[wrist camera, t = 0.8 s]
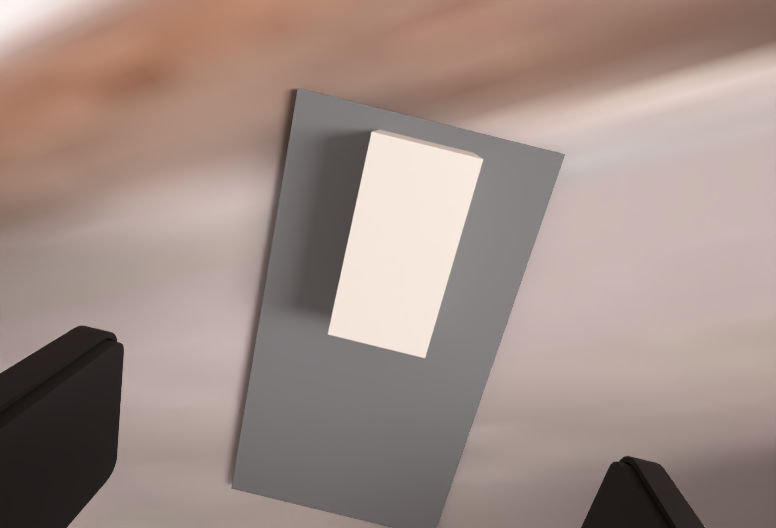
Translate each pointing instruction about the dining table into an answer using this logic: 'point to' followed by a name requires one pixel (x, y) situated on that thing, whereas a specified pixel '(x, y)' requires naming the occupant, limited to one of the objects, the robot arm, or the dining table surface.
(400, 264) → the white rectangular block
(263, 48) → the dining table surface
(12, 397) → the robot arm
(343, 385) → the mat
